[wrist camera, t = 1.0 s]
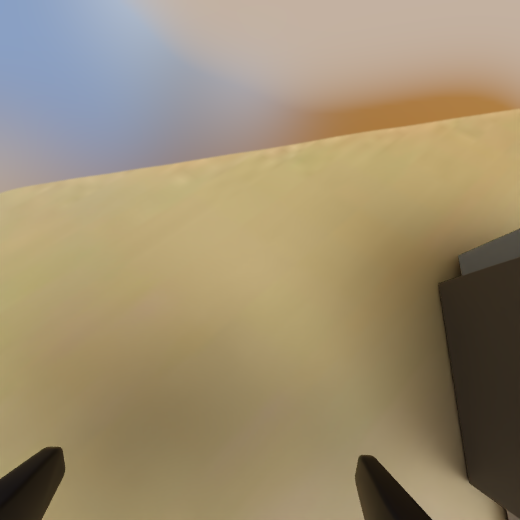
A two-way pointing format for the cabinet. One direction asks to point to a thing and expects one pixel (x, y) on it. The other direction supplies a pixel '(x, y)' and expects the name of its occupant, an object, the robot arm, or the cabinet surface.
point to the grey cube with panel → (488, 365)
